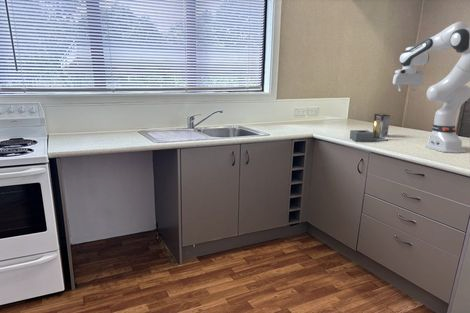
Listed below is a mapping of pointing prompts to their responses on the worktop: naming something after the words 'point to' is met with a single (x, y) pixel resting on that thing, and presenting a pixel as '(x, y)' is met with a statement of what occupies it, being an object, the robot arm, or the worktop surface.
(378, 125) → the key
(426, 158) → the worktop surface
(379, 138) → the mat
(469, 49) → the robot arm
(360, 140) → the chuck block
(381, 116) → the coffee box
